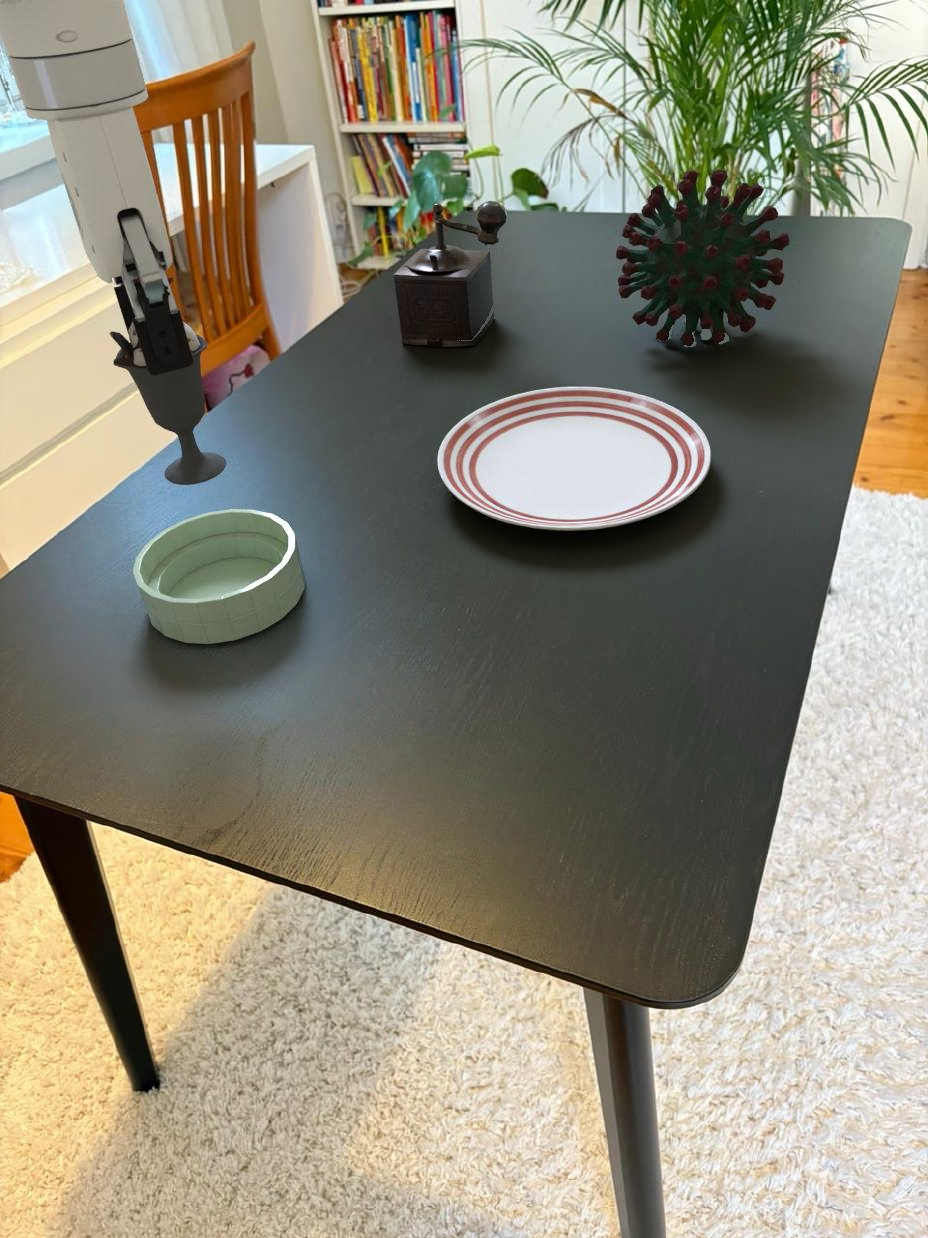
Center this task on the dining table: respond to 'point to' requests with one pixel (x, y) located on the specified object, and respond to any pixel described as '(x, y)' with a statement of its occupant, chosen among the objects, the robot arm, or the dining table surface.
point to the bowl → (220, 575)
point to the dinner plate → (574, 458)
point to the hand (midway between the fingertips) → (160, 349)
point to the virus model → (700, 258)
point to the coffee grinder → (449, 285)
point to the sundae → (174, 405)
